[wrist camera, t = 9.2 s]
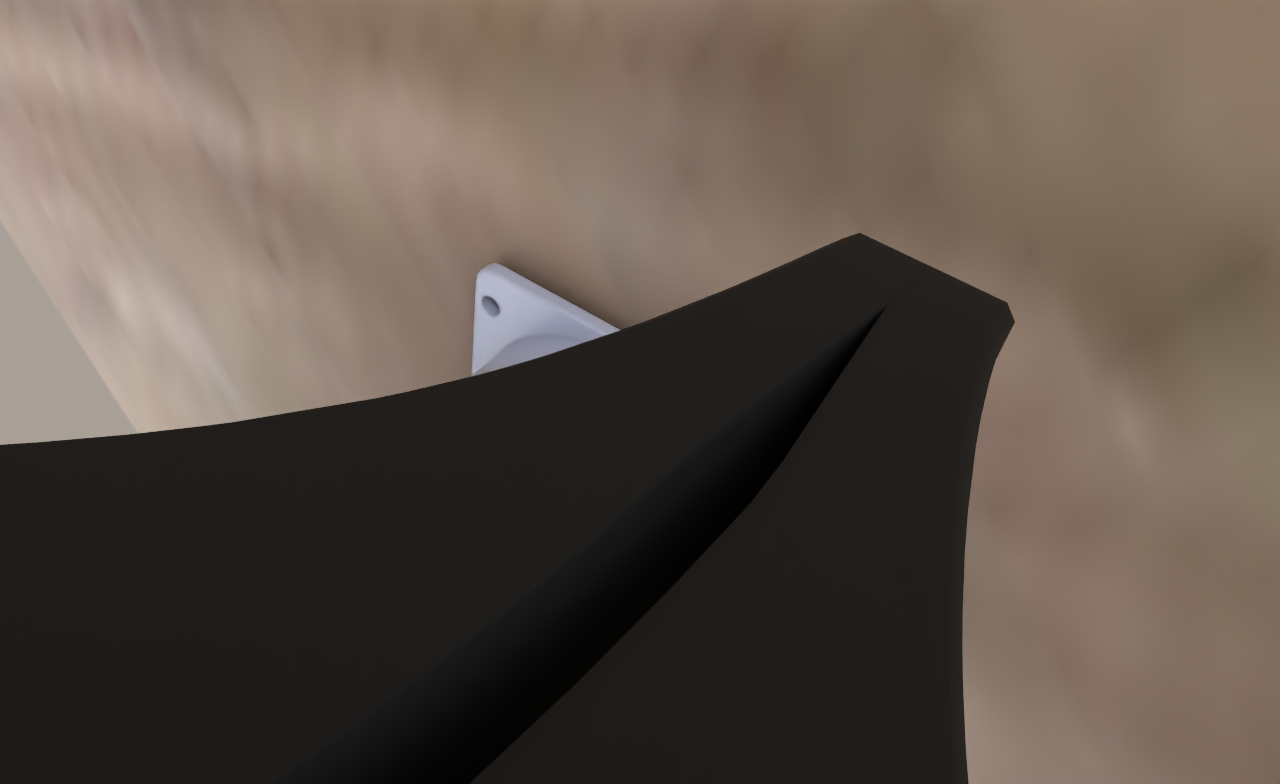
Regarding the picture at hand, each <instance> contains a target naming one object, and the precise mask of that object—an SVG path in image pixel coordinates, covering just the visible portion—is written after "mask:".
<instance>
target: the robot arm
mask: <svg viewBox="0 0 1280 784" xmlns="http://www.w3.org/2000/svg"><path fill="white" fill-rule="evenodd" d="M495 301H496V302H497V303H496V302H495ZM1014 323H1015V321H1014V319H1013V316H1012V314H1011V311H1010V309H1009V306H1008V303H1007V302H1005V301H1002V300H1000V299H998V298H996V297H994V296H992V295H990V294H988V293H986V292H983V291H981V290H979V289H977V288H975V287H973V286H971V285H969V284H967V283H964V282H962V281H960V280H958V279H956V278H954V277H952V276H950V275H948V274H945V273H943V272H941V271H939V270H937V269H935V268H933V267H931V266H929V265H926V264H924V263H922V262H920V261H918V260H916V259H914V258H912V257H910V256H907V255H905V254H903V253H901V252H899V251H897V250H895V249H893V248H891V247H888V246H886V245H884V244H882V243H880V242H878V241H876V240H874V239H872V238H869V237H867V236H865V235H863V234H861V233H858V234H855V235H852V236H849V237H846V238H843V239H841V240H838V241H836V242H834V243H831V244H829V245H827V246H824V247H822V248H820V249H818V250H815V251H813V252H811V253H809V254H807V255H804V256H802V257H800V258H798V259H795V260H793V261H791V262H789V263H786V264H784V265H782V266H780V267H777V268H775V269H773V270H771V271H768V272H766V273H764V274H761V275H759V276H757V277H754V278H752V279H750V280H747V281H745V282H743V283H740V284H738V285H736V286H733V287H731V288H729V289H726V290H724V291H721V292H719V293H716V294H714V295H711V296H709V297H706V298H704V299H701V300H698V301H696V302H693V303H691V304H688V305H686V306H683V307H681V308H678V309H676V310H673V311H671V312H668V313H666V314H663V315H661V316H658V317H656V318H653V319H650V320H648V321H645V322H642V323H640V324H637V325H634V326H631V327H628V328H625V329H623V330H620V329H618V328H616V327H614V326H612V325H610V324H609V323H607V322H605V321H603V320H601V319H600V318H598V317H596V316H594V315H592V314H590V313H589V312H587V311H585V310H583V309H581V308H579V307H578V306H576V305H574V304H572V303H570V302H568V301H567V300H565V299H563V298H561V297H559V296H557V295H556V294H554V293H552V292H550V291H548V290H546V289H545V288H543V287H541V286H539V285H537V284H535V283H534V282H532V281H530V280H528V279H526V278H524V277H523V276H521V275H519V274H517V273H515V272H514V271H512V270H510V269H508V268H506V267H504V266H503V265H500V264H497V263H493V264H489V265H488V266H486V267H485V268H483V269H482V270H481V271H480V272H479V273H478V274H477V277H476V290H475V311H474V333H473V354H472V376H470V377H468V378H464V379H460V380H456V381H451V382H447V383H443V384H439V385H434V386H430V387H426V388H422V389H417V390H413V391H409V392H404V393H400V394H395V395H390V396H385V397H380V398H376V399H370V400H364V401H358V402H352V403H346V404H340V405H334V406H328V407H322V408H316V409H310V410H304V411H298V412H292V413H286V414H280V415H274V416H268V417H262V418H256V419H250V420H244V421H238V422H232V423H224V424H217V425H209V426H201V427H192V428H183V429H174V430H165V431H157V432H148V433H139V434H130V435H120V436H107V437H96V438H84V439H73V440H62V441H50V442H39V443H22V444H8V445H0V784H968V773H967V760H966V745H965V723H964V700H963V667H962V610H963V584H964V558H965V541H966V528H967V515H968V505H969V497H970V489H971V481H972V473H973V464H974V456H975V448H976V442H977V436H978V430H979V424H980V419H981V414H982V410H983V406H984V401H985V397H986V393H987V388H988V384H989V380H990V377H991V374H992V370H993V367H994V364H995V361H996V358H997V356H998V354H999V352H1000V350H1001V348H1002V346H1003V344H1004V342H1005V340H1006V338H1007V336H1008V334H1009V332H1010V330H1011V328H1012V327H1013V325H1014Z"/></svg>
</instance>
